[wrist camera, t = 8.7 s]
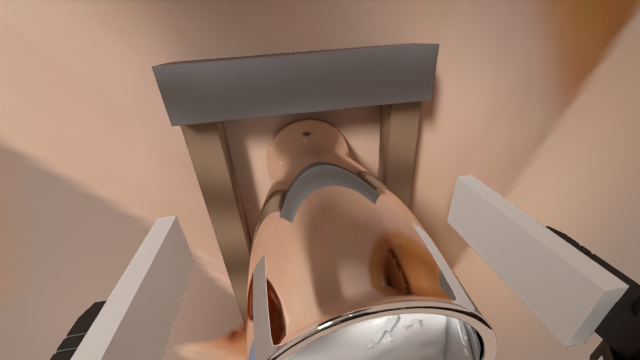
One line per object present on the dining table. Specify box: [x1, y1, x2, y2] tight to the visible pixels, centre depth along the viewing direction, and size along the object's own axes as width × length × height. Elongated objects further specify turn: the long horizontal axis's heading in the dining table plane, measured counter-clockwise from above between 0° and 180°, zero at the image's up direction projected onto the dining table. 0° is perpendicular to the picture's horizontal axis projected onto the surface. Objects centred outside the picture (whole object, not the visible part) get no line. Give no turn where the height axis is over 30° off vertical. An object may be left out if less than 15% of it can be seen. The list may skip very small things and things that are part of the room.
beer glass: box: [246, 120, 497, 360], centre depth 13 cm, size 7×7×15 cm
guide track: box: [152, 43, 439, 328], centre depth 21 cm, size 26×15×3 cm, turn 4°
